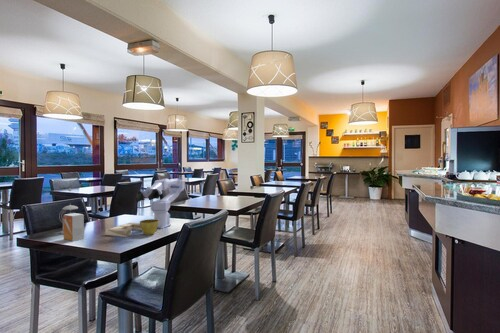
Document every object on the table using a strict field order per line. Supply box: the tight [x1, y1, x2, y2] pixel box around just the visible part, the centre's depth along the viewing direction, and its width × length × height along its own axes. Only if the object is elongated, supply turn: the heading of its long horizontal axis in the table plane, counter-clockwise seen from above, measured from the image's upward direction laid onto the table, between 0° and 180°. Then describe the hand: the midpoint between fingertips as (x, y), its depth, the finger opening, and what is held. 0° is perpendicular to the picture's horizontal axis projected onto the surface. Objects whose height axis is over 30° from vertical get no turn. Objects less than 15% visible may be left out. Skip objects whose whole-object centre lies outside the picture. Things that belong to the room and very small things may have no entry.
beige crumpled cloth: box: [105, 222, 142, 238], centre depth 179 cm, size 20×14×3 cm
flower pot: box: [139, 218, 159, 236], centre depth 175 cm, size 10×10×7 cm
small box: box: [62, 212, 85, 242], centre depth 163 cm, size 8×6×13 cm
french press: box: [58, 188, 79, 235], centre depth 180 cm, size 10×12×25 cm
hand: (142, 199), depth 172 cm, fingers open, 7 cm apart
